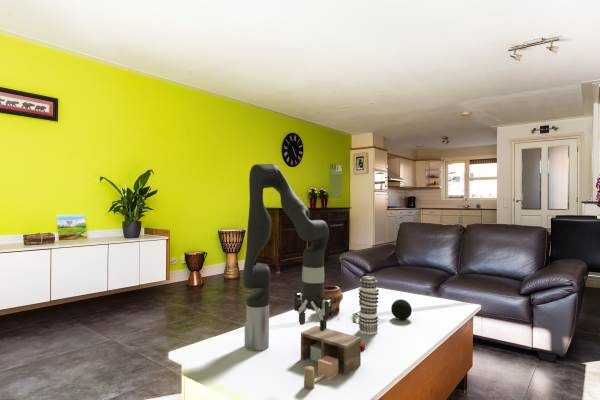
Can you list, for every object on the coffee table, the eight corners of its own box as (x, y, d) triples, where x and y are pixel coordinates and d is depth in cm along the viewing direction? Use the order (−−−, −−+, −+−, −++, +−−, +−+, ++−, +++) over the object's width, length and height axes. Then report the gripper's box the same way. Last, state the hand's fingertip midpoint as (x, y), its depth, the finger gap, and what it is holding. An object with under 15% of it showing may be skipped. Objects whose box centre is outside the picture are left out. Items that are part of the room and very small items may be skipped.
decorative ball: (407, 324, 177) (407, 303, 177) (388, 319, 183) (388, 300, 183) (414, 318, 185) (414, 299, 185) (395, 314, 191) (395, 296, 191)
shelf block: (310, 359, 137) (310, 346, 137) (318, 354, 140) (318, 342, 141) (321, 362, 133) (321, 349, 134) (328, 358, 137) (328, 345, 137)
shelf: (300, 359, 136) (300, 332, 136) (316, 350, 144) (316, 325, 144) (346, 375, 124) (346, 346, 124) (360, 365, 132) (360, 337, 132)
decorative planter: (326, 320, 181) (327, 293, 181) (307, 315, 188) (307, 289, 188) (348, 311, 196) (348, 285, 196) (329, 307, 204) (329, 282, 204)
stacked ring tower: (378, 335, 161) (379, 279, 161) (357, 333, 163) (358, 278, 163) (378, 328, 170) (378, 275, 170) (358, 327, 172) (359, 274, 172)
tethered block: (299, 386, 116) (300, 367, 116) (326, 369, 128) (326, 352, 128) (312, 391, 113) (312, 372, 113) (338, 373, 125) (338, 356, 125)
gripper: (289, 277, 123) (289, 325, 123) (324, 285, 114) (323, 336, 114) (303, 274, 128) (302, 319, 129) (337, 280, 119) (336, 329, 120)
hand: (312, 327), depth 121 cm, fingers open, 8 cm apart
